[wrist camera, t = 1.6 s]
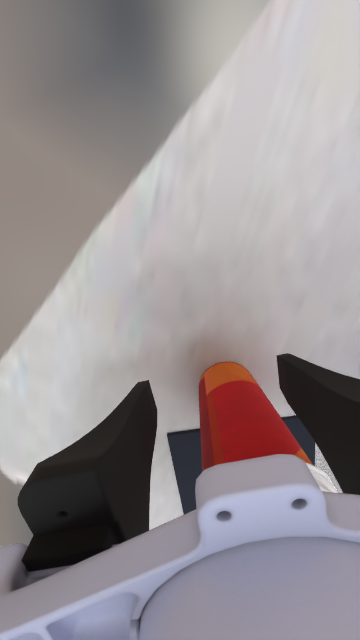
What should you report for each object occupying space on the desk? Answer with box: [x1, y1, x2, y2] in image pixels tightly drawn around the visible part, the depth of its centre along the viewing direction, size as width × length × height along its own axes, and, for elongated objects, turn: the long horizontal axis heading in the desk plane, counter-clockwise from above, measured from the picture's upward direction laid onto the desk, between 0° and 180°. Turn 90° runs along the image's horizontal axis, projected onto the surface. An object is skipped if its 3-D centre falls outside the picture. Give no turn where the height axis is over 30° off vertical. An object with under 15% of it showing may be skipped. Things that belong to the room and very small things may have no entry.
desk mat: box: [167, 416, 315, 515], centre depth 30 cm, size 16×20×1 cm
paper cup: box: [199, 362, 338, 493], centre depth 19 cm, size 8×8×14 cm
